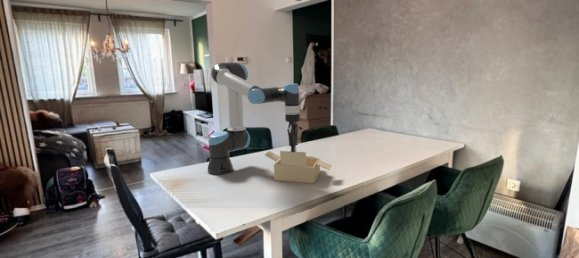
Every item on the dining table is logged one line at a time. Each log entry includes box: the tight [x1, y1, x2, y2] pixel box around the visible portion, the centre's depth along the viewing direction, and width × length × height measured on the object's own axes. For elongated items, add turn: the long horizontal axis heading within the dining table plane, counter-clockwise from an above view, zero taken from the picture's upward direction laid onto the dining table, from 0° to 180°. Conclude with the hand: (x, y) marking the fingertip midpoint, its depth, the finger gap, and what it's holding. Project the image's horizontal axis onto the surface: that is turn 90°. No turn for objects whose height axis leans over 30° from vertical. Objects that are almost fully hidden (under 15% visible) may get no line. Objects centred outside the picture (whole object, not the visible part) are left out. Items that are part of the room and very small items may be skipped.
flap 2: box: [279, 150, 307, 166], centre depth 166 cm, size 14×8×1 cm
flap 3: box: [316, 159, 333, 171], centre depth 172 cm, size 8×8×1 cm
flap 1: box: [264, 150, 280, 162], centre depth 179 cm, size 8×8×1 cm
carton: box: [273, 157, 321, 185], centre depth 176 cm, size 22×18×9 cm
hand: (293, 157), depth 166 cm, fingers closed
